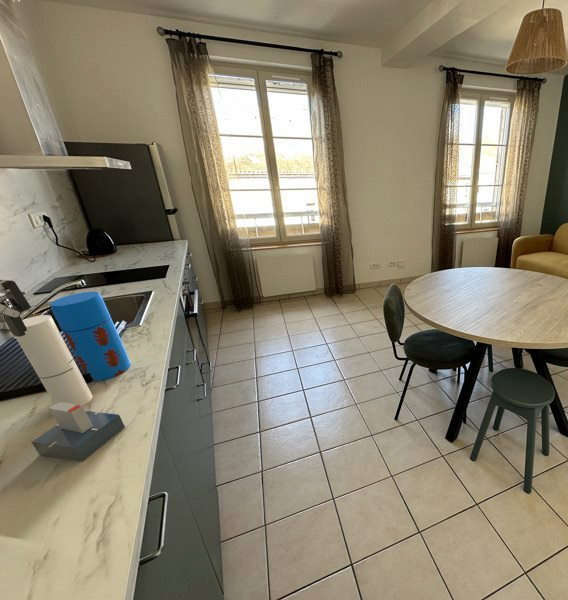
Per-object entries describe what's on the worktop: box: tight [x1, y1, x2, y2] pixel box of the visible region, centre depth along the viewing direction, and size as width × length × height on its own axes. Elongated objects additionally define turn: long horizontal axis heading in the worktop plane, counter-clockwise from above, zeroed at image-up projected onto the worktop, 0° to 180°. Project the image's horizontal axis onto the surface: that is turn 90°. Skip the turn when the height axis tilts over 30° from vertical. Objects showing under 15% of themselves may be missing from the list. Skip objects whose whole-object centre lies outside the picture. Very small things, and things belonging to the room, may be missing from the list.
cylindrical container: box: [14, 314, 94, 407], centre depth 85 cm, size 7×7×25 cm
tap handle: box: [47, 402, 93, 433], centre depth 74 cm, size 7×2×6 cm, turn 76°
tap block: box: [30, 409, 126, 462], centre depth 76 cm, size 12×11×4 cm
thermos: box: [49, 291, 131, 382], centre depth 98 cm, size 11×11×25 cm
